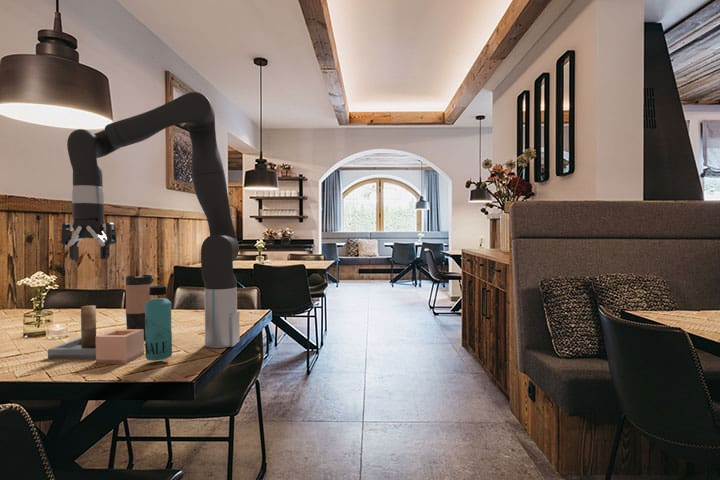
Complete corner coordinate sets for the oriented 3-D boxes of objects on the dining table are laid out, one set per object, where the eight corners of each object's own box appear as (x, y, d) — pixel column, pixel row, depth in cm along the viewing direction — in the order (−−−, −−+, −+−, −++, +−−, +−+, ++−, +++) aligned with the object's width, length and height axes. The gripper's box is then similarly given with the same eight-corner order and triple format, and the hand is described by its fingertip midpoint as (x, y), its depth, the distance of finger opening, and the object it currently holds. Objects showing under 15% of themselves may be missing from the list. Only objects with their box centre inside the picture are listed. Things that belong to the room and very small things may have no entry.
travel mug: (141, 342, 124) (140, 277, 124) (120, 340, 125) (119, 277, 125) (158, 335, 131) (157, 275, 131) (138, 334, 133) (137, 274, 133)
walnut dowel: (99, 346, 115) (98, 305, 115) (90, 350, 112) (90, 307, 112) (87, 346, 115) (86, 305, 115) (78, 350, 112) (77, 307, 112)
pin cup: (144, 354, 111) (143, 329, 111) (126, 363, 103) (126, 336, 103) (115, 354, 111) (115, 329, 111) (96, 363, 103) (95, 336, 103)
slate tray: (126, 346, 119) (126, 337, 119) (98, 358, 107) (98, 349, 107) (80, 346, 120) (80, 337, 120) (47, 358, 108) (47, 349, 108)
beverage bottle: (165, 357, 109) (164, 283, 108) (177, 362, 104) (176, 285, 104) (140, 363, 104) (139, 286, 103) (151, 368, 99) (150, 288, 99)
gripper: (121, 203, 117) (122, 258, 117) (73, 203, 117) (74, 259, 118) (104, 201, 110) (105, 260, 110) (53, 201, 110) (54, 260, 110)
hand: (89, 259), depth 114 cm, fingers open, 8 cm apart
